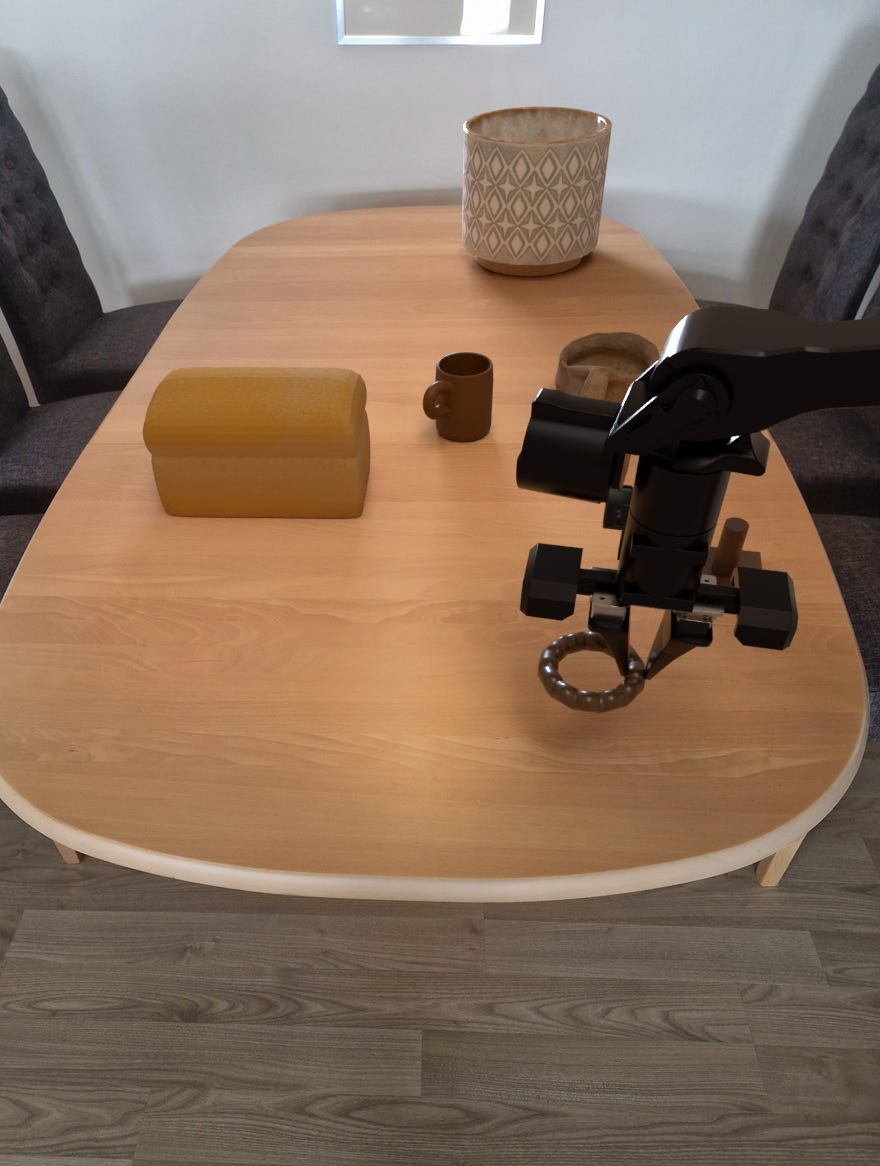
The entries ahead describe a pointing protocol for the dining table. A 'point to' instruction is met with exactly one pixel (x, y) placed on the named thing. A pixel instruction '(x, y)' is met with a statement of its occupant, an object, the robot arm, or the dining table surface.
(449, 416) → the mug
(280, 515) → the bread
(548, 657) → the ring
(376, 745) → the dining table surface
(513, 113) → the planter
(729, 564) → the stand
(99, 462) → the dining table surface
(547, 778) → the dining table surface
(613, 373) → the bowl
